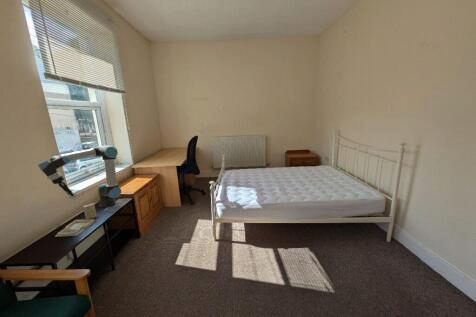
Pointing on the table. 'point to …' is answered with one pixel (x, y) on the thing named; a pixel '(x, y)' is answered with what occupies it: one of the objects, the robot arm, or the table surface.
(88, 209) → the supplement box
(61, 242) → the table surface
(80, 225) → the keyhole tray
